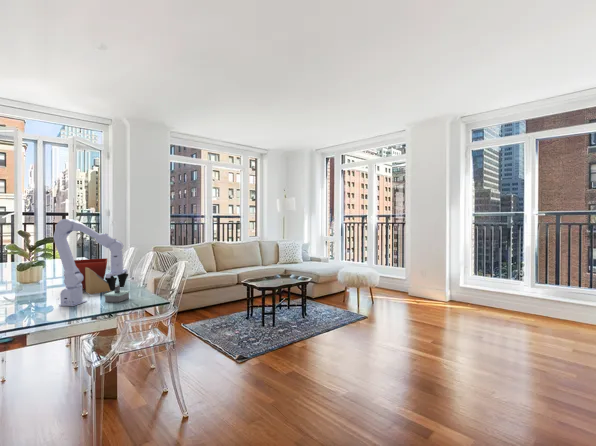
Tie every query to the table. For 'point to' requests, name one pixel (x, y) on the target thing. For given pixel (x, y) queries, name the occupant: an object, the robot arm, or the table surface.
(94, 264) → the plant pot
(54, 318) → the table surface
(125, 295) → the box
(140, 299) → the table surface
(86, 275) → the sandwich container
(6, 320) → the table surface
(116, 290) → the lid
